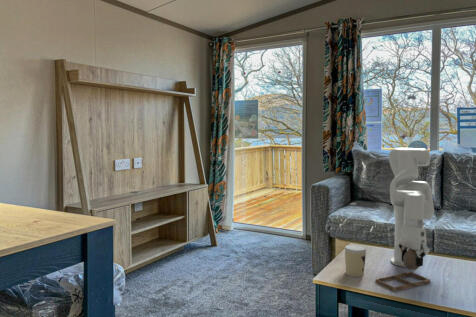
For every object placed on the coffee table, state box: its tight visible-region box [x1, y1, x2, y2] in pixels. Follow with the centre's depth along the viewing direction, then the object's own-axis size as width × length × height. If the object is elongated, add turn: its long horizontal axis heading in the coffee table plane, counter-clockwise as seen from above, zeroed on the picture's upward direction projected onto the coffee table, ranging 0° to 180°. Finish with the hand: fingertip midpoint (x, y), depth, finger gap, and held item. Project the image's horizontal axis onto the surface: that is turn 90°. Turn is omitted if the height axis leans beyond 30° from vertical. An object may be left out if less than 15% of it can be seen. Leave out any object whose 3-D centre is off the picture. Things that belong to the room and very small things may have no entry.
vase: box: [403, 249, 420, 271], centre depth 165 cm, size 7×7×9 cm
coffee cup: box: [344, 244, 367, 277], centre depth 174 cm, size 9×9×12 cm
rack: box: [375, 271, 431, 292], centre depth 165 cm, size 21×13×2 cm, turn 115°
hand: (411, 263), depth 165 cm, fingers closed on vase, 6 cm apart
